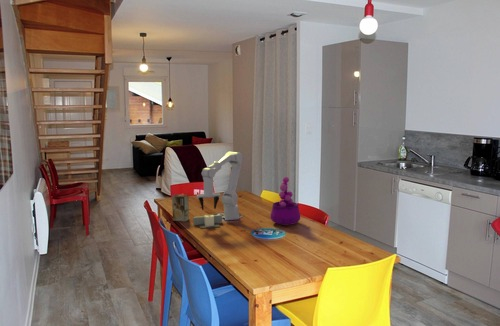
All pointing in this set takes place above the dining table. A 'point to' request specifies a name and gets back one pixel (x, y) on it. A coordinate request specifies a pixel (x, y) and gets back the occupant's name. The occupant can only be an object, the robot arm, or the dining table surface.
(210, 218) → the letter block
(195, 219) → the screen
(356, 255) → the dining table surface
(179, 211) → the coffee box
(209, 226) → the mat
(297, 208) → the decorative plant
